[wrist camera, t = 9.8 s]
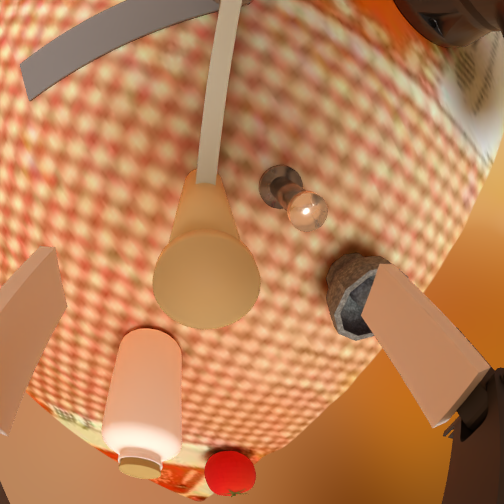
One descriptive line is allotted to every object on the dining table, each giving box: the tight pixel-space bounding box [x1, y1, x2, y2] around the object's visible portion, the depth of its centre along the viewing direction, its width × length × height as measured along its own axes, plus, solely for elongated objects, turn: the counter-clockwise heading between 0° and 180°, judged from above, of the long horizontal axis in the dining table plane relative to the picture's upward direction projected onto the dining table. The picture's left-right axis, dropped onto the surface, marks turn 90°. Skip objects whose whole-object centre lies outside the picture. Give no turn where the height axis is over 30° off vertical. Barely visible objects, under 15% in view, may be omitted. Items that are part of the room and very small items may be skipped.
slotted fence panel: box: [153, 0, 261, 329], centre depth 16 cm, size 21×4×18 cm, turn 172°
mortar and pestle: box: [326, 253, 408, 341], centre depth 30 cm, size 11×9×12 cm
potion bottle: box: [102, 328, 182, 479], centre depth 27 cm, size 8×8×18 cm
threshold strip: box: [20, 0, 250, 101], centre depth 19 cm, size 24×5×1 cm, turn 107°
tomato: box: [205, 451, 256, 497], centre depth 47 cm, size 10×11×11 cm
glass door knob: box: [259, 165, 328, 232], centre depth 25 cm, size 4×4×9 cm
